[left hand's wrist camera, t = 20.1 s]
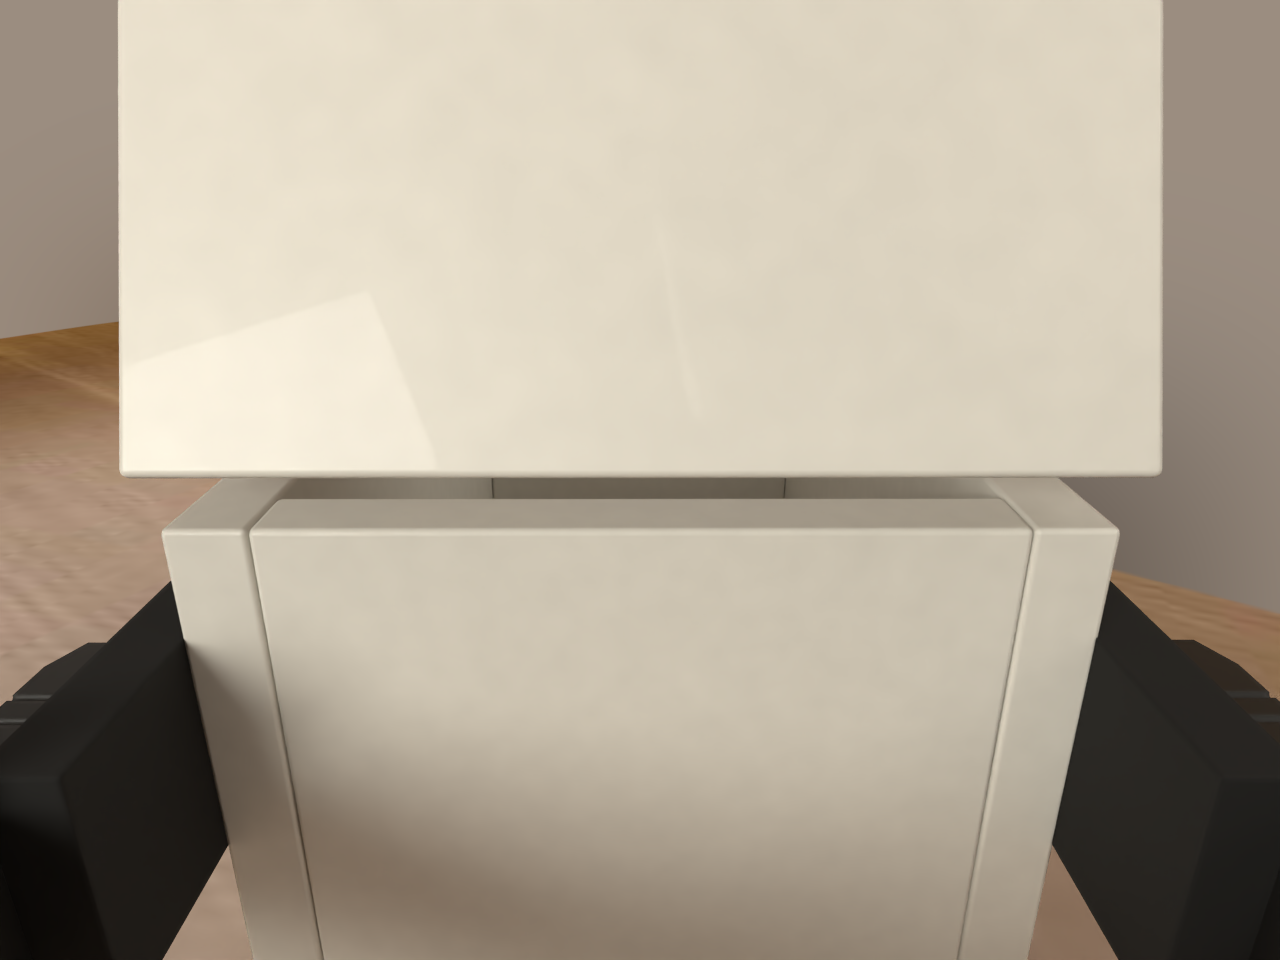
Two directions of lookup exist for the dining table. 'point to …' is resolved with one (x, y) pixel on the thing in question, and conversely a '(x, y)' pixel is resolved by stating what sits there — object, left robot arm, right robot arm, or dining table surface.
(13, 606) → the dining table surface
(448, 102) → the lid
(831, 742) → the chest
